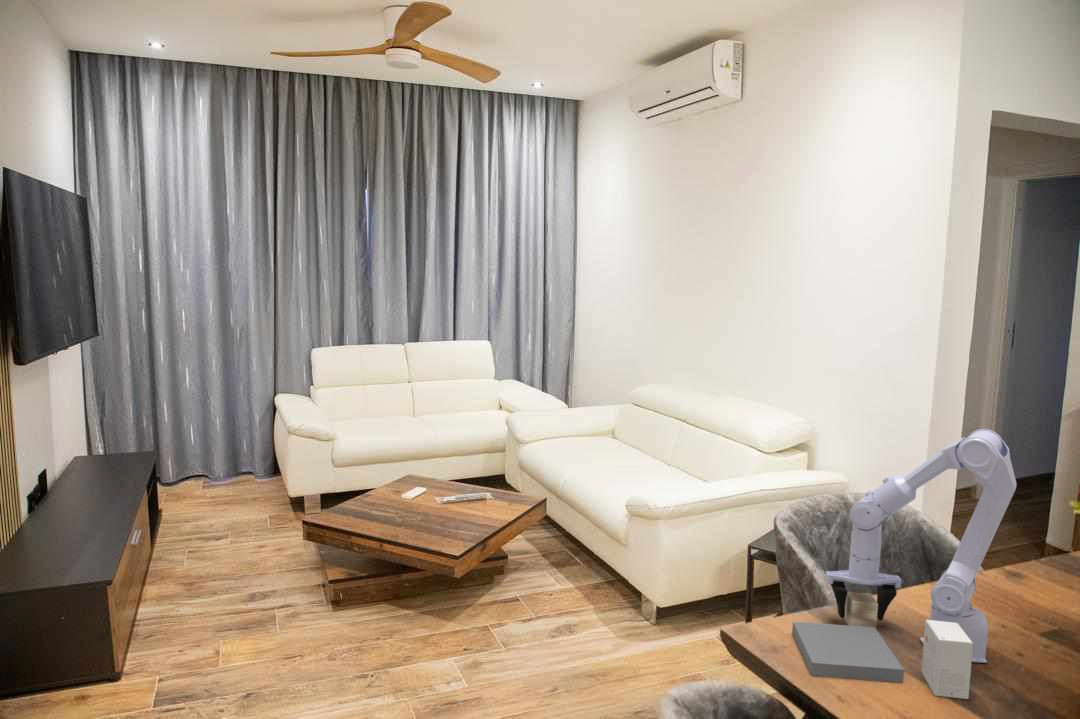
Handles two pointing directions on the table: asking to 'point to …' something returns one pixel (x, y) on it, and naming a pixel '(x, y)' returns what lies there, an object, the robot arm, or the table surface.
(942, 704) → the table surface
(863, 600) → the maple block
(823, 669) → the slate plinth
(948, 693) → the small box
